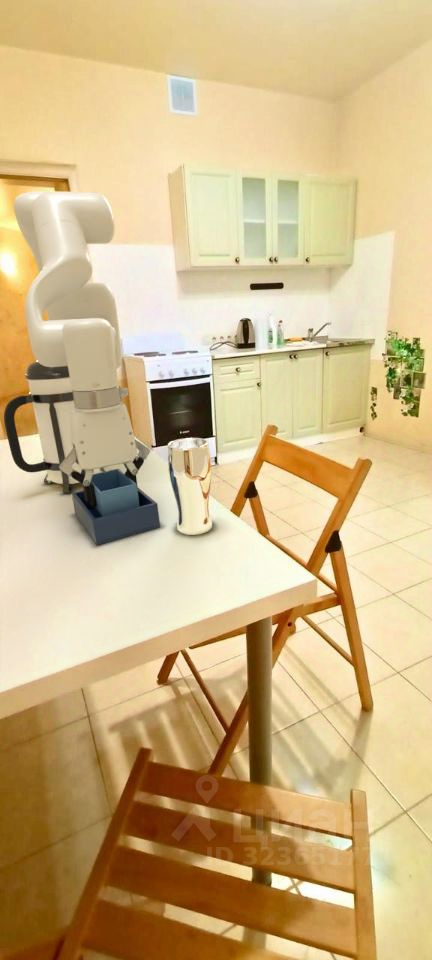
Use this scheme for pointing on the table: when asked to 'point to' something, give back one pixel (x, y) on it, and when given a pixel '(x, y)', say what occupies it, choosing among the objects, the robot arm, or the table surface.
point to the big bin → (116, 518)
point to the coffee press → (46, 422)
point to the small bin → (114, 492)
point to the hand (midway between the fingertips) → (112, 498)
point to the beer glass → (191, 483)
